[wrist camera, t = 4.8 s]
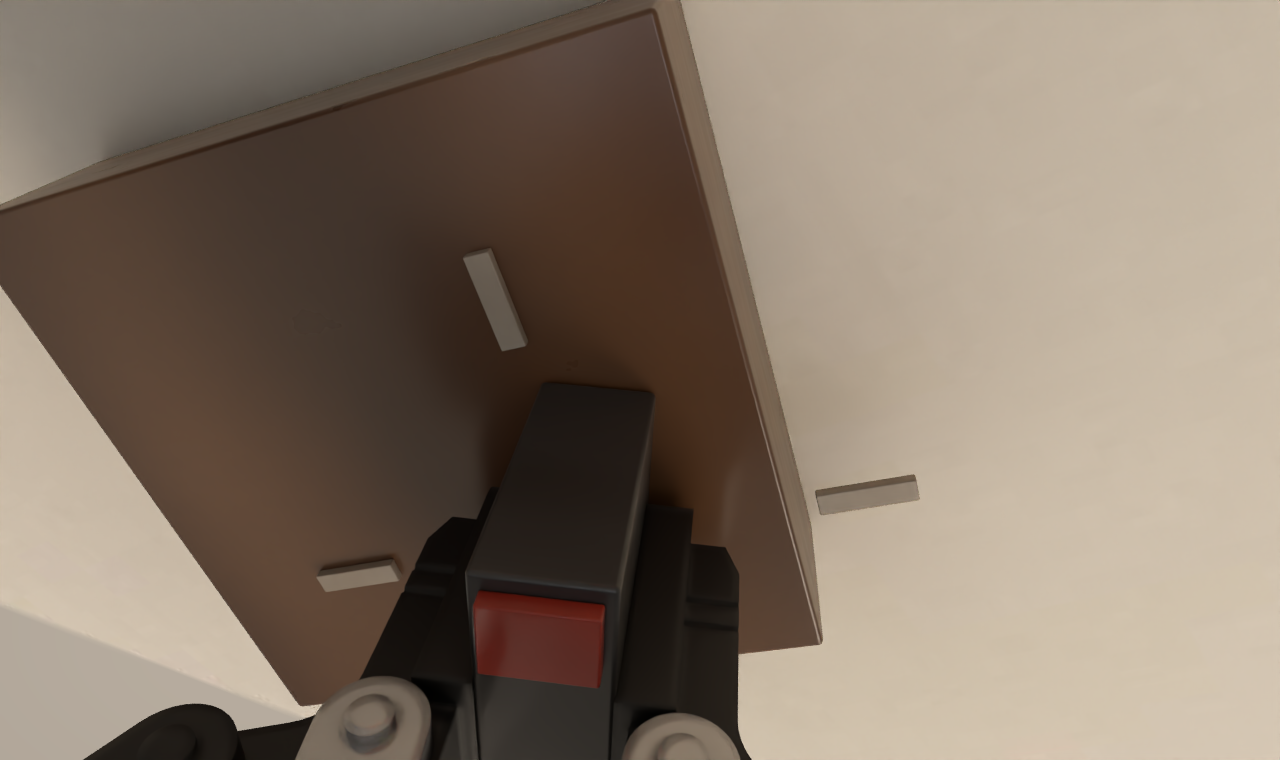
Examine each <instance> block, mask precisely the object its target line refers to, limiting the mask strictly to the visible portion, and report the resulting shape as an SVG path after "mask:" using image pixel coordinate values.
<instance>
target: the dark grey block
mask: <svg viewBox="0 0 1280 760" xmlns="http://www.w3.org/2000/svg"><path fill="white" fill-rule="evenodd" d="M655 399H656V398H655V395H654V394H653V393H649V392H639V391H629V390H618V389H608V388H598V387H588V386H578V385H568V384H558V383H548V382H545V383H542V385H541V387H540V389H539V392H538V394H537V397H536V399H535V402H534V404H533V406H532V409H531V411H530V414H529V416H528V419H527V421H526V424H525V426H524V429H523V431H522V434H521V436H520V438H519V441H518V443H517V446H516V448H515V451H514V453H513V456H512V458H511V461H510V463H509V465H508V468H507V470H506V473H505V475H504V478H503V480H502V483H501V485H500V488H499V490H498V492H497V495H496V497H495V500H494V502H493V505H492V507H491V510H490V512H489V515H488V517H487V519H486V522H485V524H484V527H483V529H482V532H481V534H480V537H479V539H478V542H477V544H476V547H475V549H474V551H473V554H472V556H471V559H470V561H469V564H468V566H467V569H466V571H465V581H466V594H467V606H468V619H469V632H470V645H471V658H472V671H473V683H474V696H475V709H476V722H477V735H478V748H479V760H611V748H612V728H613V708H614V698H615V696H616V694H617V688H618V681H619V675H620V669H621V662H622V656H623V650H624V644H625V637H626V631H627V625H628V618H629V612H630V606H631V599H632V593H633V587H634V581H635V574H636V568H637V562H638V555H639V549H640V543H641V536H642V530H643V524H644V517H645V511H646V506H647V504H648V499H649V485H650V471H651V456H652V442H653V428H654V414H655Z"/></svg>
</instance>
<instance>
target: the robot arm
mask: <svg viewBox="0 0 1280 760" xmlns="http://www.w3.org/2000/svg"><path fill="white" fill-rule="evenodd" d="M499 488H500V487H491V488H490V490H489V491H488V493H487V496H486V498H485V500H484V503H483V505H482V507H481V510H480V512H479V515H478V517H477V519H470V518H461V517H451V518H450V519H449V520H448V521H447V522H446V523H445V524H443V525H442V526H441V527H440V528H439V529H438V530H437V531H436V532H434V533H433V534H432V535H431V536H430V537H429V538H428V539H427V541H426V543H425V545H424V547H423V549H422V551H421V553H420V556H419V558H418V560H417V562H416V564H415V569H414V570H412V572H411V574H410V576H409V578H408V580H407V583H406V585H405V587H404V592H402V593H401V595H400V597H399V599H398V601H397V603H396V605H395V607H394V610H393V612H392V614H391V616H390V618H389V620H388V622H387V624H386V626H385V628H384V630H383V632H382V634H381V637H380V639H379V641H378V643H377V645H376V647H375V649H374V651H373V653H372V655H371V657H370V659H369V661H368V664H367V666H366V668H365V670H364V672H363V674H362V675H361V677H360V679H359V680H358V681H355V682H353V683H350V684H348V685H346V686H345V687H343V688H341V689H339V690H338V691H337V692H335V693H334V694H333V695H331V696H330V697H329V698H328V699H327V700H326V701H325V702H324V703H323V705H322V706H321V707H320V708H319V710H318V711H317V713H316V715H314V716H311V717H308V718H306V719H303V720H299V721H295V722H290V723H284V724H278V725H272V726H266V727H260V728H254V729H249V730H242V731H237V729H236V726H235V724H234V721H233V720H232V719H231V717H230V716H229V715H228V714H227V713H225V712H224V711H223V710H221V709H219V708H217V707H214V706H211V705H206V704H185V705H179V706H175V707H171V708H168V709H165V710H162V711H160V712H158V713H155V714H153V715H151V716H149V717H148V718H146V719H144V720H142V721H141V722H139V723H138V724H136V725H135V726H133V727H132V728H130V729H129V730H127V731H126V732H124V733H123V734H121V735H120V736H118V737H117V738H115V739H114V740H112V741H111V742H109V743H108V744H106V745H105V746H103V747H102V748H100V749H99V750H97V751H96V752H94V753H93V754H91V755H90V756H88V757H87V758H85V759H84V760H479V748H478V735H477V722H476V709H475V696H474V683H473V671H472V658H471V645H470V632H469V619H468V606H467V594H466V581H465V571H466V569H467V566H468V564H469V561H470V559H471V556H472V554H473V551H474V549H475V547H476V544H477V542H478V539H479V537H480V534H481V532H482V529H483V527H484V524H485V522H486V519H487V517H488V515H489V512H490V510H491V507H492V505H493V502H494V500H495V497H496V495H497V492H498V490H499ZM693 510H694V509H691V508H682V507H673V506H664V505H655V504H647V506H646V511H645V517H644V524H643V530H642V536H641V543H640V549H639V555H638V562H637V568H636V574H635V581H634V587H633V593H632V599H631V606H630V612H629V618H628V625H627V631H626V637H625V644H624V650H623V656H622V662H621V669H620V675H619V681H618V688H617V694H616V696H615V698H614V708H613V728H612V748H611V760H752V759H751V758H750V757H749V755H748V753H747V752H746V750H745V748H744V746H743V743H742V741H741V738H740V734H739V730H738V647H739V633H738V629H739V572H738V570H737V568H736V566H735V564H734V563H733V561H732V559H731V557H730V555H729V553H728V551H727V549H726V547H719V546H710V545H701V544H692V543H691V534H692V522H693Z"/></svg>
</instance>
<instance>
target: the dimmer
mask: <svg viewBox="0 0 1280 760" xmlns="http://www.w3.org/2000/svg"><path fill="white" fill-rule="evenodd" d="M0 286H1V287H2V289H3V290H4V291H5V293H6V294H7V296H8V297H9V298H10V300H11V301H12V303H13V304H14V305H15V307H16V308H17V310H18V311H19V313H20V314H21V315H22V317H23V318H24V320H25V321H26V322H27V324H28V325H29V327H30V328H31V329H32V331H33V332H34V334H35V335H36V336H37V338H38V339H39V341H40V342H41V343H42V345H43V346H44V348H45V349H46V350H47V352H48V353H49V355H50V356H51V357H52V359H53V360H54V362H55V363H56V364H57V366H58V367H59V369H60V370H61V371H62V373H63V374H64V376H65V377H66V379H67V380H68V381H69V383H70V384H71V386H72V387H73V388H74V390H75V391H76V393H77V394H78V395H79V397H80V398H81V400H82V401H83V402H84V404H85V405H86V407H87V408H88V409H89V411H90V412H91V414H92V415H93V416H94V418H95V419H96V421H97V422H98V423H99V425H100V426H101V428H102V429H103V430H104V432H105V433H106V435H107V436H108V437H109V439H110V440H111V442H112V443H113V445H114V446H115V447H116V449H117V450H118V452H119V453H120V454H121V456H122V457H123V459H124V460H125V461H126V463H127V464H128V466H129V467H130V468H131V470H132V471H133V473H134V474H135V475H136V477H137V478H138V480H139V481H140V482H141V484H142V485H143V487H144V488H145V489H146V491H147V492H148V494H149V495H150V496H151V498H152V499H153V501H154V502H155V503H156V505H157V506H158V508H159V509H160V510H161V512H162V513H163V515H164V516H165V518H166V519H167V520H168V522H169V523H170V525H171V526H172V527H173V529H174V530H175V532H176V533H177V534H178V536H179V537H180V539H181V540H182V541H183V543H184V544H185V546H186V547H187V548H188V550H189V551H190V553H191V554H192V555H193V557H194V558H195V560H196V561H197V562H198V564H199V565H200V567H201V568H202V569H203V571H204V572H205V574H206V575H207V576H208V578H209V579H210V581H211V582H212V584H213V585H214V586H215V588H216V589H217V591H218V592H219V593H220V595H221V596H222V598H223V599H224V600H225V602H226V603H227V605H228V606H229V607H230V609H231V610H232V612H233V613H234V614H235V616H236V617H237V619H238V620H239V621H240V623H241V624H242V626H243V627H244V628H245V630H246V631H247V633H248V634H249V635H250V637H251V638H252V640H253V641H254V642H255V644H256V645H257V647H258V648H259V650H260V651H261V652H262V654H263V655H264V657H265V658H266V659H267V661H268V662H269V664H270V665H271V666H272V668H273V669H274V671H275V672H276V673H277V675H278V676H279V678H280V679H281V680H282V682H283V683H284V685H285V686H286V687H287V689H288V690H289V692H290V693H291V694H292V696H293V697H294V699H295V700H296V701H297V703H298V704H299V705H300V706H309V705H318V704H323V703H324V702H325V701H326V700H327V699H328V698H329V697H330V696H331V695H333V694H334V693H335V692H337V691H338V690H339V689H341V688H343V687H345V686H346V685H348V684H350V683H353V682H355V681H358V680H359V679H360V677H361V675H362V674H363V672H364V670H365V668H366V666H367V664H368V661H369V659H370V657H371V655H372V653H373V651H374V649H375V647H376V645H377V643H378V641H379V639H380V637H381V634H382V632H383V630H384V628H385V626H386V624H387V622H388V620H389V618H390V616H391V614H392V612H393V610H394V607H395V605H396V603H397V601H398V599H399V597H400V595H401V593H402V592H404V587H405V585H406V583H407V580H408V578H409V576H410V574H411V572H412V570H414V569H415V564H416V562H417V560H418V558H419V556H420V553H421V551H422V549H423V547H424V545H425V543H426V541H427V539H428V538H429V537H430V536H431V535H432V534H433V533H434V532H436V531H437V530H438V529H439V528H440V527H441V526H442V525H443V524H445V523H446V522H447V521H448V520H449V519H450V518H451V517H461V518H470V519H477V517H478V515H479V512H480V510H481V507H482V505H483V503H484V500H485V498H486V496H487V493H488V491H489V490H490V488H491V487H500V485H501V483H502V480H503V478H504V475H505V473H506V470H507V468H508V465H509V463H510V461H511V458H512V456H513V453H514V451H515V448H516V446H517V443H518V441H519V438H520V436H521V434H522V431H523V429H524V426H525V424H526V421H527V419H528V416H529V414H530V411H531V409H532V406H533V404H534V402H535V399H536V397H537V394H538V392H539V389H540V387H541V385H542V383H545V382H548V383H558V384H568V385H578V386H588V387H598V388H608V389H618V390H629V391H639V392H649V393H653V394H654V395H655V398H656V399H655V414H654V428H653V442H652V456H651V471H650V485H649V499H648V504H655V505H664V506H673V507H682V508H691V509H694V510H693V522H692V534H691V543H692V544H701V545H710V546H719V547H726V549H727V551H728V553H729V555H730V557H731V559H732V561H733V563H734V564H735V566H736V568H737V570H738V572H739V629H738V633H739V647H738V654H745V653H754V652H762V651H770V650H779V649H787V648H796V647H804V646H812V645H820V644H822V641H823V635H822V625H821V616H820V606H819V596H818V586H817V576H816V567H815V557H814V547H813V537H812V528H811V522H810V518H809V514H808V510H807V506H806V502H805V498H804V494H803V490H802V486H801V482H800V478H799V474H798V470H797V466H796V462H795V458H794V454H793V450H792V446H791V442H790V438H789V434H788V430H787V426H786V422H785V418H784V414H783V410H782V406H781V402H780V398H779V394H778V390H777V386H776V382H775V378H774V374H773V370H772V366H771V362H770V358H769V354H768V350H767V346H766V342H765V338H764V334H763V330H762V326H761V322H760V318H759V314H758V310H757V306H756V302H755V298H754V294H753V290H752V286H751V282H750V278H749V274H748V270H747V266H746V262H745V258H744V254H743V250H742V246H741V242H740V238H739V234H738V230H737V226H736V222H735V218H734V214H733V210H732V206H731V202H730V198H729V194H728V190H727V186H726V182H725V178H724V174H723V170H722V166H721V162H720V158H719V154H718V150H717V146H716V142H715V138H714V134H713V130H712V126H711V122H710V118H709V114H708V110H707V106H706V102H705V98H704V94H703V90H702V86H701V82H700V78H699V74H698V70H697V66H696V62H695V58H694V54H693V50H692V46H691V42H690V38H689V34H688V30H687V26H686V22H685V18H684V14H683V10H682V6H681V2H680V0H609V1H606V2H602V3H599V4H596V5H593V6H590V7H587V8H583V9H580V10H577V11H574V12H571V13H568V14H565V15H561V16H558V17H555V18H552V19H549V20H546V21H542V22H539V23H536V24H533V25H530V26H527V27H524V28H520V29H517V30H514V31H511V32H508V33H505V34H501V35H498V36H495V37H492V38H489V39H486V40H482V41H479V42H476V43H473V44H470V45H467V46H464V47H460V48H457V49H454V50H451V51H448V52H445V53H441V54H438V55H435V56H432V57H429V58H426V59H423V60H419V61H416V62H413V63H410V64H407V65H404V66H400V67H397V68H394V69H391V70H388V71H385V72H382V73H378V74H375V75H372V76H369V77H366V78H363V79H359V80H356V81H353V82H350V83H347V84H344V85H340V86H337V87H334V88H331V89H328V90H325V91H322V92H318V93H315V94H312V95H309V96H306V97H303V98H299V99H296V100H293V101H290V102H287V103H284V104H281V105H277V106H274V107H271V108H268V109H265V110H262V111H258V112H255V113H252V114H249V115H246V116H243V117H239V118H236V119H233V120H230V121H227V122H224V123H221V124H217V125H214V126H211V127H208V128H205V129H202V130H198V131H195V132H192V133H189V134H186V135H183V136H180V137H176V138H173V139H170V140H167V141H164V142H161V143H157V144H154V145H151V146H148V147H145V148H142V149H139V150H135V151H132V152H129V153H126V154H123V155H120V156H116V157H113V158H110V159H107V160H104V161H101V162H98V163H96V164H93V165H91V166H89V167H86V168H84V169H82V170H79V171H77V172H75V173H72V174H70V175H68V176H66V177H63V178H61V179H59V180H56V181H54V182H52V183H49V184H47V185H45V186H42V187H40V188H38V189H35V190H33V191H31V192H28V193H26V194H24V195H21V196H19V197H17V198H15V199H12V200H10V201H8V202H5V203H3V204H1V205H0ZM816 498H817V503H818V507H819V511H820V514H821V515H826V514H833V513H839V512H846V511H852V510H859V509H865V508H872V507H878V506H884V505H891V504H897V503H904V502H910V501H917V500H919V499H920V497H919V491H918V486H917V480H916V477H915V475H914V474H913V475H907V476H901V477H895V478H888V479H882V480H876V481H870V482H864V483H858V484H851V485H845V486H839V487H833V488H827V489H821V490H816Z"/></svg>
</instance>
